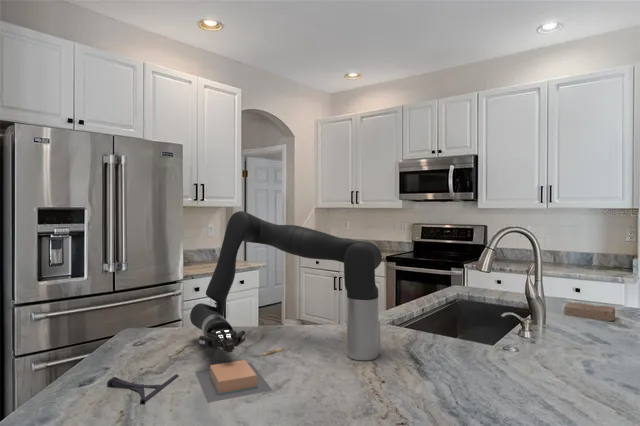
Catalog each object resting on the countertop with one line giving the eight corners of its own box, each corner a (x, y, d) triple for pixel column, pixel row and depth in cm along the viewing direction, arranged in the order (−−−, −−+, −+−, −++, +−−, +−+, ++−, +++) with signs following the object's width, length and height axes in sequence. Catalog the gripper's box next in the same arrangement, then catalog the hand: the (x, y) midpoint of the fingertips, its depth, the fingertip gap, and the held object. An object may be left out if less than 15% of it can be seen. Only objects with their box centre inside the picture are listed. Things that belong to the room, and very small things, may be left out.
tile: (245, 359, 111) (256, 375, 101) (245, 371, 111) (256, 387, 101) (210, 365, 107) (218, 381, 97) (210, 377, 107) (218, 394, 97)
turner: (278, 350, 129) (278, 347, 129) (285, 353, 126) (285, 349, 126) (242, 361, 119) (242, 358, 119) (248, 364, 117) (248, 361, 117)
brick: (563, 315, 170) (563, 304, 170) (567, 311, 176) (567, 300, 176) (613, 323, 159) (613, 311, 159) (615, 318, 166) (615, 306, 166)
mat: (251, 364, 117) (251, 362, 117) (272, 392, 100) (272, 390, 100) (195, 373, 111) (195, 371, 111) (207, 405, 93) (207, 402, 93)
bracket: (127, 377, 111) (127, 366, 111) (179, 380, 108) (179, 370, 108) (87, 402, 96) (87, 390, 96) (146, 407, 94) (146, 395, 94)
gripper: (193, 319, 120) (202, 337, 104) (239, 314, 125) (255, 330, 109) (193, 345, 120) (203, 367, 104) (239, 339, 125) (255, 359, 110)
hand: (229, 348), depth 107 cm, fingers closed
